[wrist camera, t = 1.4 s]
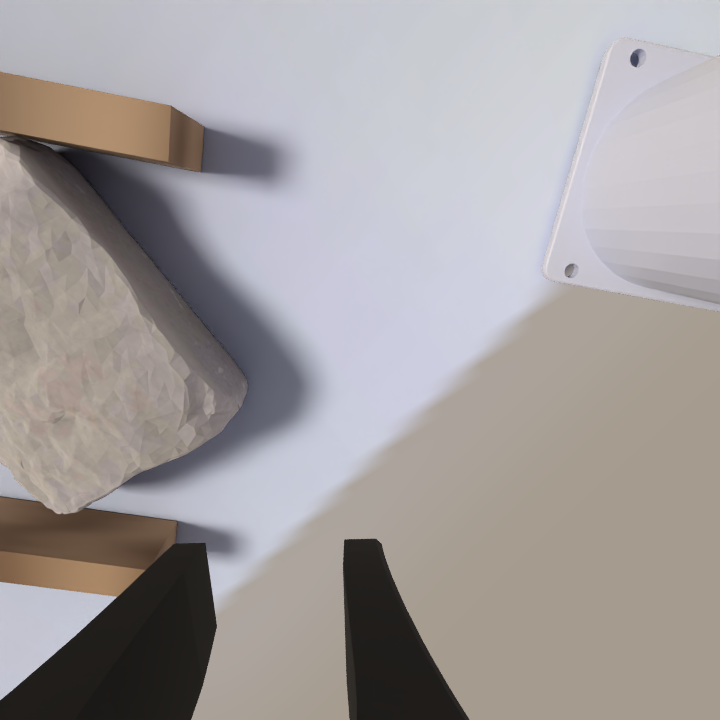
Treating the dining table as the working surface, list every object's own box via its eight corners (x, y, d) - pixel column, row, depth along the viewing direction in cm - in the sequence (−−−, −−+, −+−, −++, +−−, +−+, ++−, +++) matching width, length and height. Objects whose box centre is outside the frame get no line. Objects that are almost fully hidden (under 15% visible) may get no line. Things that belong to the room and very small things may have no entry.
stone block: (128, 477, 22) (278, 380, 19) (50, 551, 18) (227, 444, 14) (-60, 277, 19) (72, 121, 16) (-206, 306, 15) (-68, 101, 12)
